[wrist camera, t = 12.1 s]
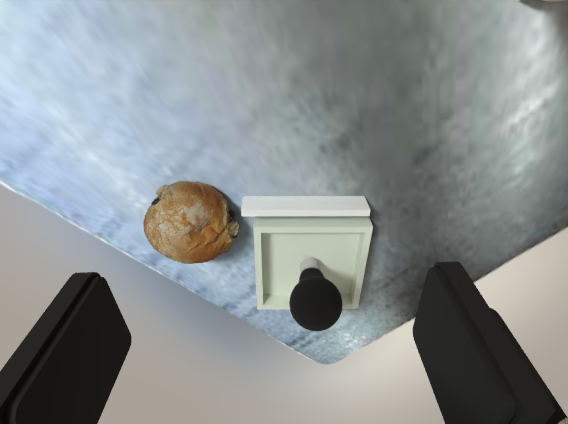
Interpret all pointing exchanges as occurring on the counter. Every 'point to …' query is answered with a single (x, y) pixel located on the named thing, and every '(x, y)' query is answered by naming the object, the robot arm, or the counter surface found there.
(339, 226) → the dish
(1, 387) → the robot arm
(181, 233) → the bread roll
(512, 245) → the counter surface
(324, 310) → the light bulb
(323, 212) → the white flat bar
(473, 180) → the counter surface
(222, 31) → the counter surface
